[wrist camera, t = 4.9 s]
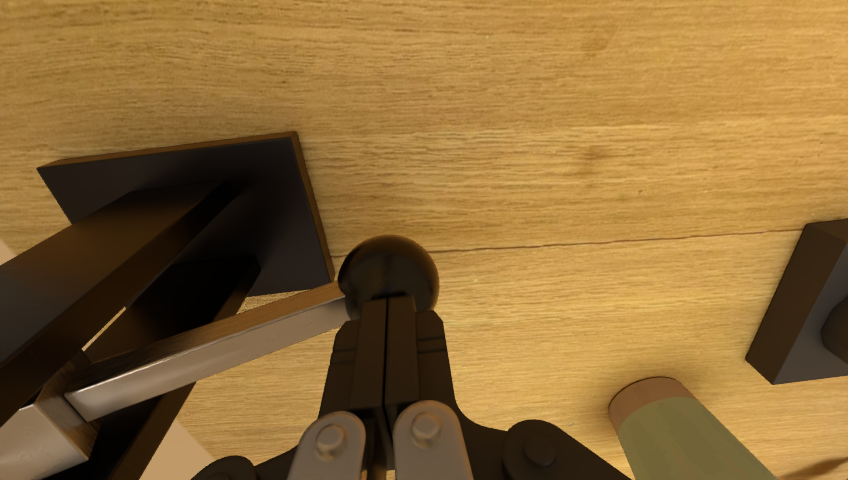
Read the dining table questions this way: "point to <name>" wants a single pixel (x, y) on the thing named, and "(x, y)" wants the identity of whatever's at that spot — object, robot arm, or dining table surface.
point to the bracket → (154, 269)
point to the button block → (808, 311)
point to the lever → (201, 356)
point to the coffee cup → (678, 436)
